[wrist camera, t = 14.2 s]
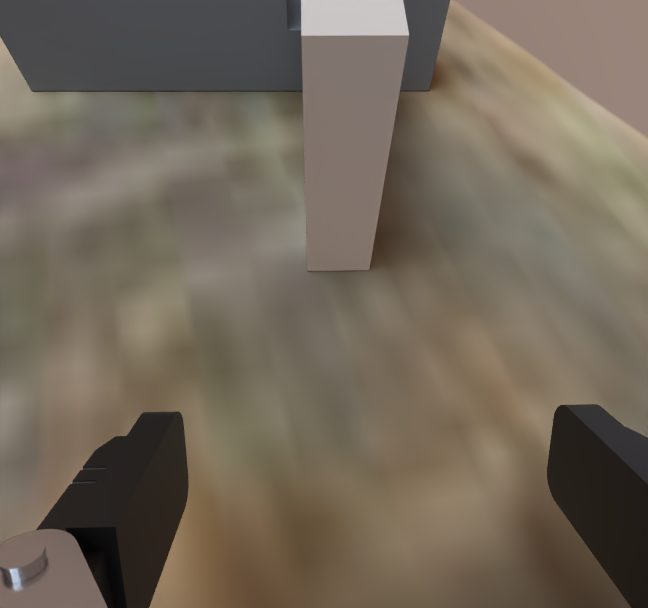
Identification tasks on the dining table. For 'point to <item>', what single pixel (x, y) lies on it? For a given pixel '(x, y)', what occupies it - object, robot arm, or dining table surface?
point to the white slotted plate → (348, 122)
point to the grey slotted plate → (183, 44)
